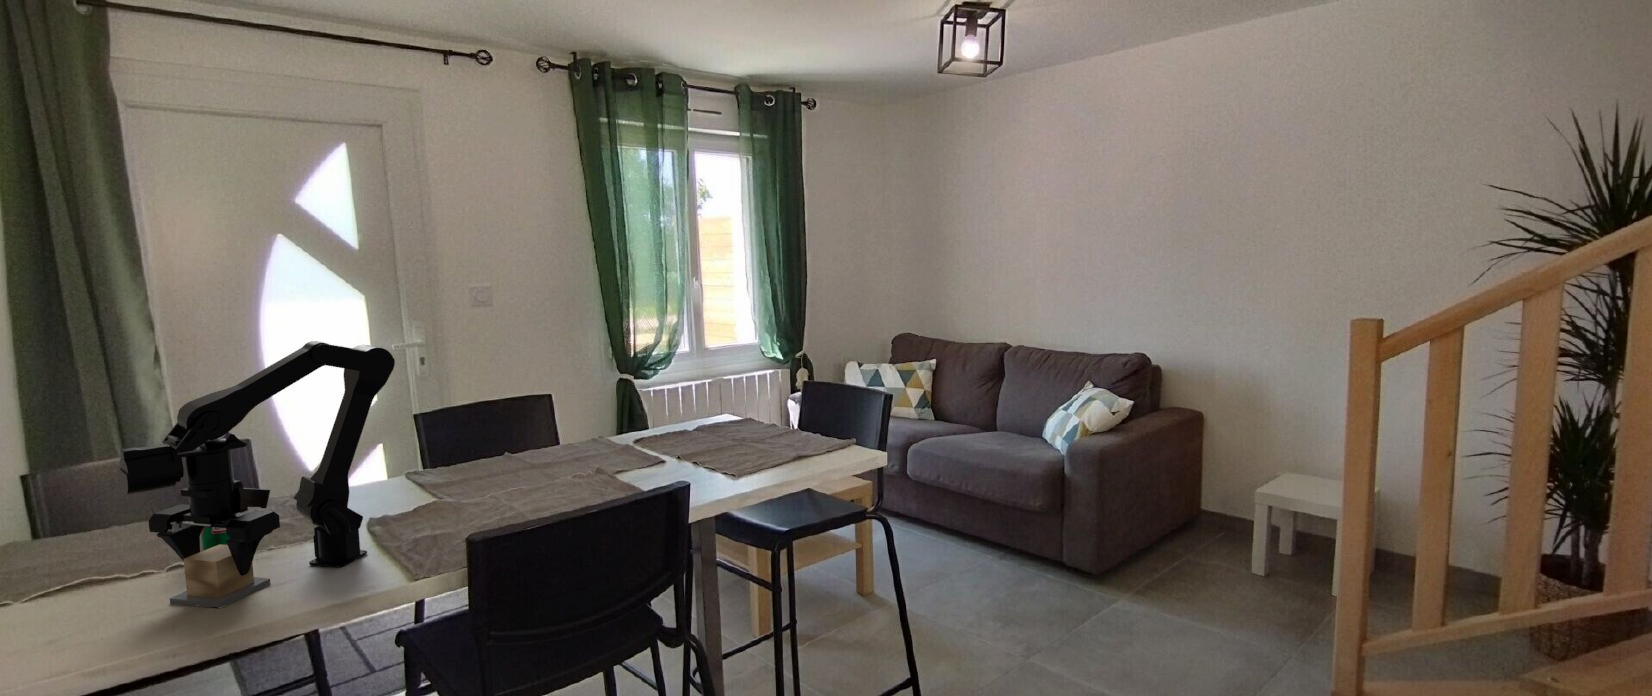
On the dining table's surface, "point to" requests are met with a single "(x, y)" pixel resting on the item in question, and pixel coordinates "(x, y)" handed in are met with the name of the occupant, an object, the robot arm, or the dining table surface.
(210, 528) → the soda can
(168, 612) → the dining table surface
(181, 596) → the slate coaster
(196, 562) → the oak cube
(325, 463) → the robot arm
